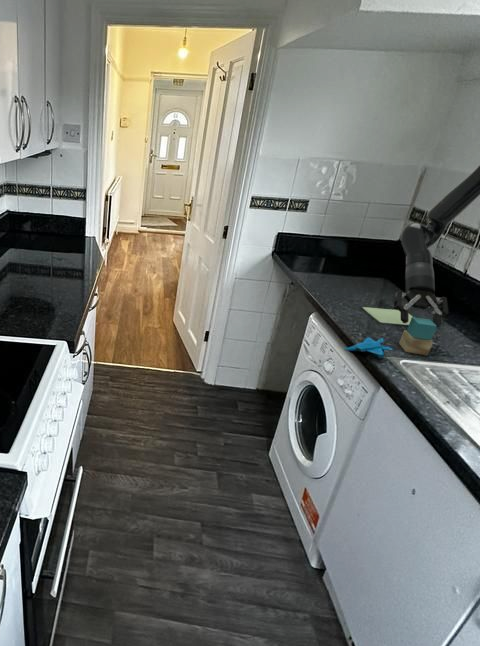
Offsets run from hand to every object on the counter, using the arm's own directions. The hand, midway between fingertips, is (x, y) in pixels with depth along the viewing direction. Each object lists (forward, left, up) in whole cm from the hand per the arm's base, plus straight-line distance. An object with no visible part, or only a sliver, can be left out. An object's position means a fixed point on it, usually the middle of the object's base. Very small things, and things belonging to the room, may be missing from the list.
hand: (420, 324), depth 130 cm
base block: (0, +1, -8) cm, 8 cm away
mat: (+2, -26, -8) cm, 28 cm away
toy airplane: (+14, +12, -9) cm, 20 cm away
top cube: (0, +1, -3) cm, 4 cm away
